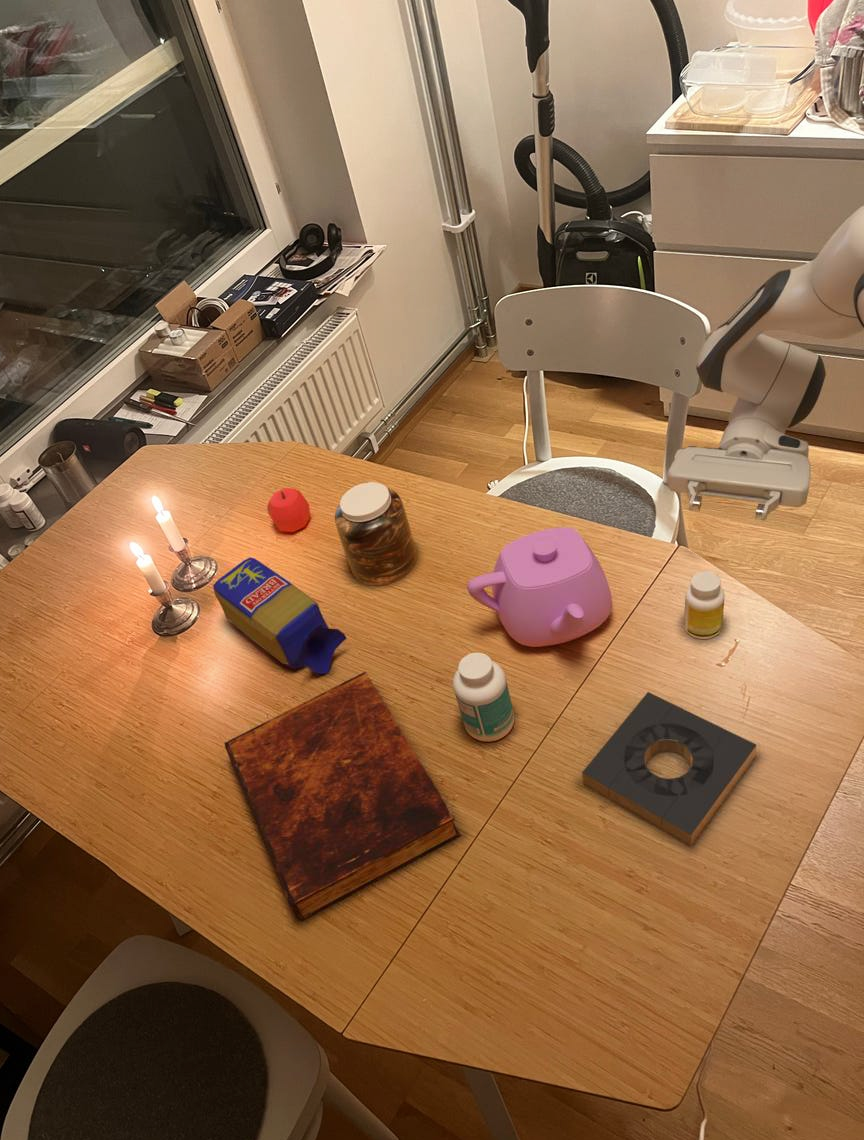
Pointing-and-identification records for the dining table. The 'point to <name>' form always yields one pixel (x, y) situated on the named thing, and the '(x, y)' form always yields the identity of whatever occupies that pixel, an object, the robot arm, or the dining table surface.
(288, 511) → the apple
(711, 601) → the supplement bottle
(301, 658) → the bread
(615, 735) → the drain plate
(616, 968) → the dining table surface
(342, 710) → the book
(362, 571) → the jar
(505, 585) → the teapot
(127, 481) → the dining table surface
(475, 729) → the pill bottle
